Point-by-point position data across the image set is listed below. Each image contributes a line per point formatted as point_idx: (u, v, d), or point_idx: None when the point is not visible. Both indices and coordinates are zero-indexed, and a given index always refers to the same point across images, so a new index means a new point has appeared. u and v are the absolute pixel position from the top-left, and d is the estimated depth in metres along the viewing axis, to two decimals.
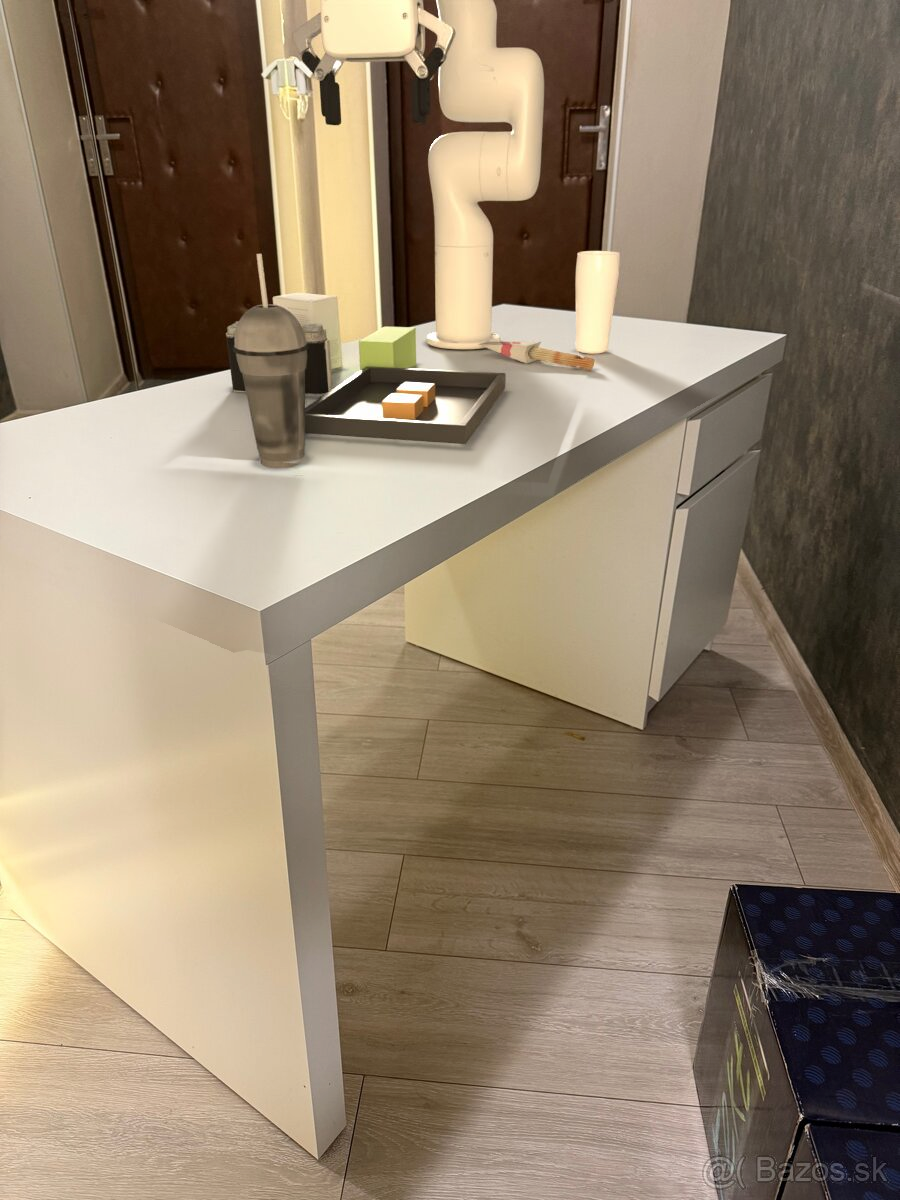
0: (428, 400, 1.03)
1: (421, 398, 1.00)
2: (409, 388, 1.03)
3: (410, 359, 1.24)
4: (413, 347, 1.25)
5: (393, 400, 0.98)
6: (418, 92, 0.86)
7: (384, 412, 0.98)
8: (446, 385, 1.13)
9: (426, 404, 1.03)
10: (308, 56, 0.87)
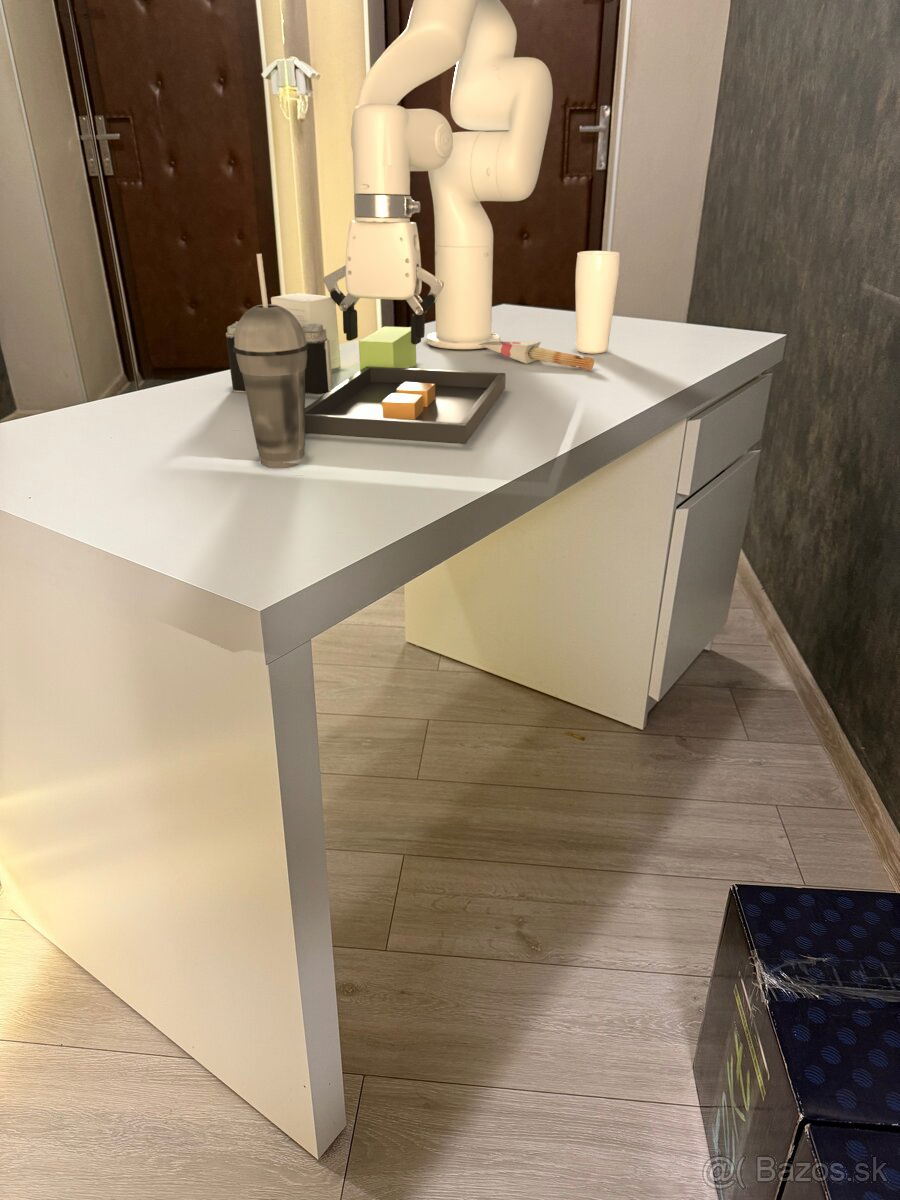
0: (428, 400, 1.03)
1: (421, 398, 1.00)
2: (409, 388, 1.03)
3: (410, 359, 1.24)
4: (413, 347, 1.25)
5: (393, 400, 0.98)
6: (416, 324, 1.16)
7: (384, 412, 0.98)
8: (446, 385, 1.13)
9: (426, 404, 1.03)
10: (334, 293, 1.17)
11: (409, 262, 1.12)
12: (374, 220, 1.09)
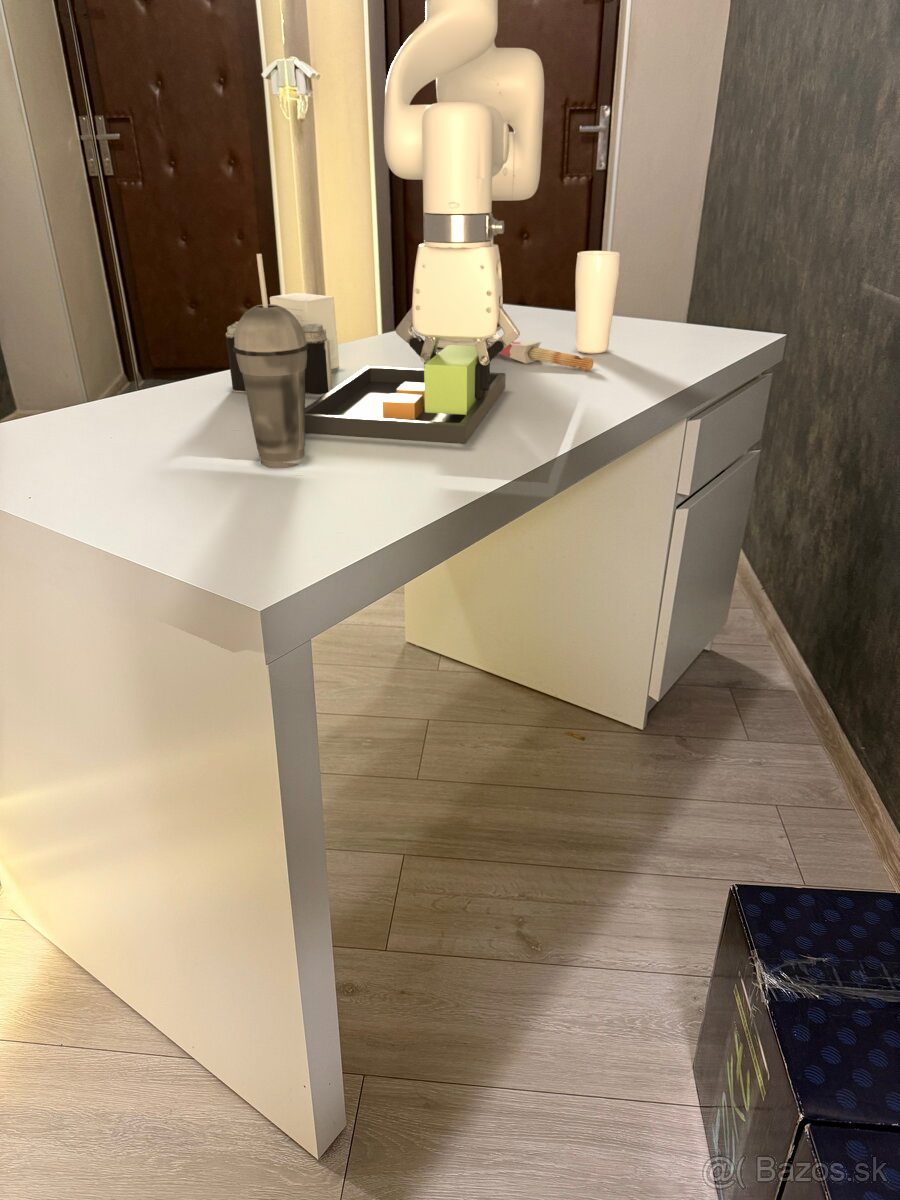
0: None
1: (421, 398, 1.00)
2: (409, 388, 1.03)
3: None
4: None
5: (393, 400, 0.98)
6: (480, 375, 0.97)
7: (384, 412, 0.98)
8: None
9: None
10: (415, 342, 0.98)
11: (491, 295, 0.92)
12: (450, 246, 0.89)
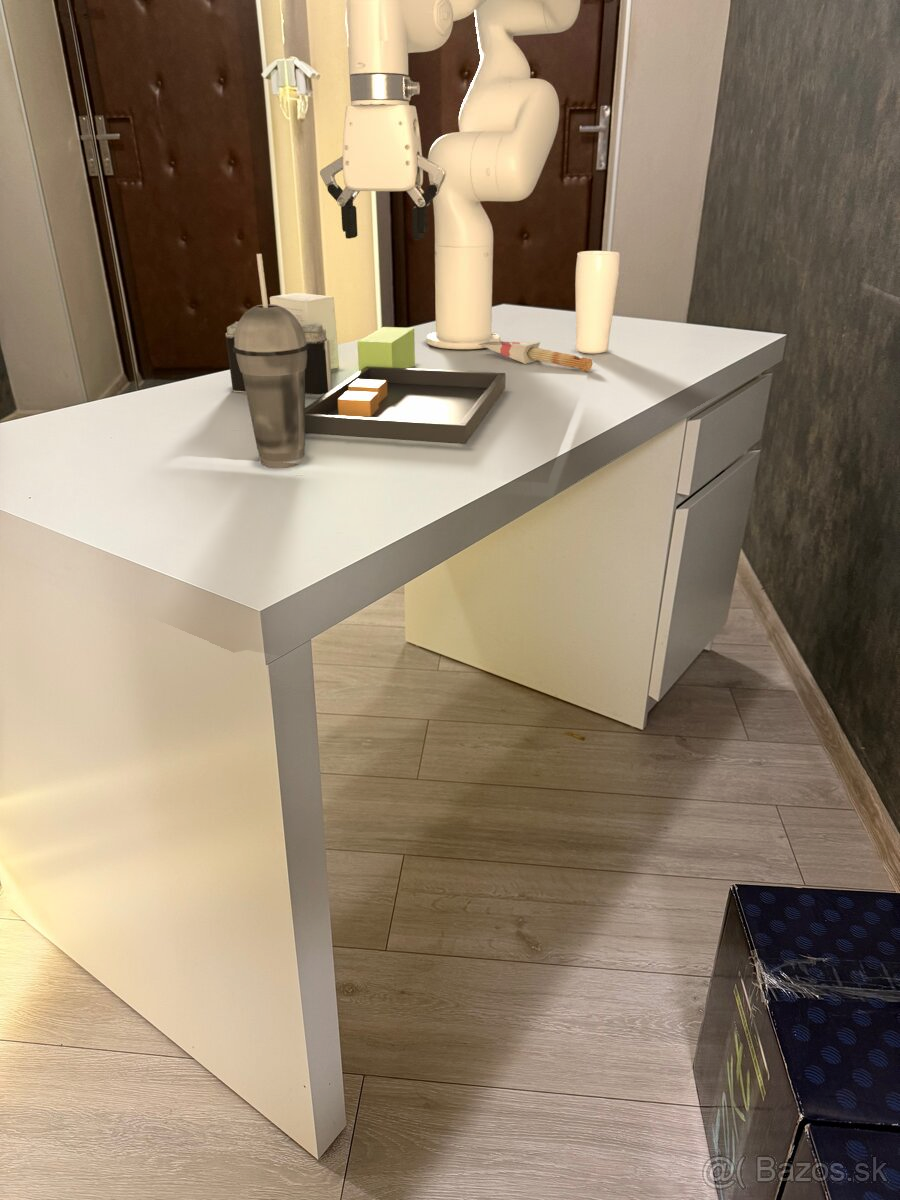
0: (379, 396, 1.05)
1: (376, 395, 1.01)
2: (361, 385, 1.05)
3: (408, 359, 1.24)
4: (412, 348, 1.25)
5: (348, 398, 0.99)
6: (417, 217, 1.11)
7: (339, 410, 0.99)
8: (446, 385, 1.13)
9: None
10: (332, 188, 1.12)
11: (409, 149, 1.07)
12: (371, 102, 1.04)
